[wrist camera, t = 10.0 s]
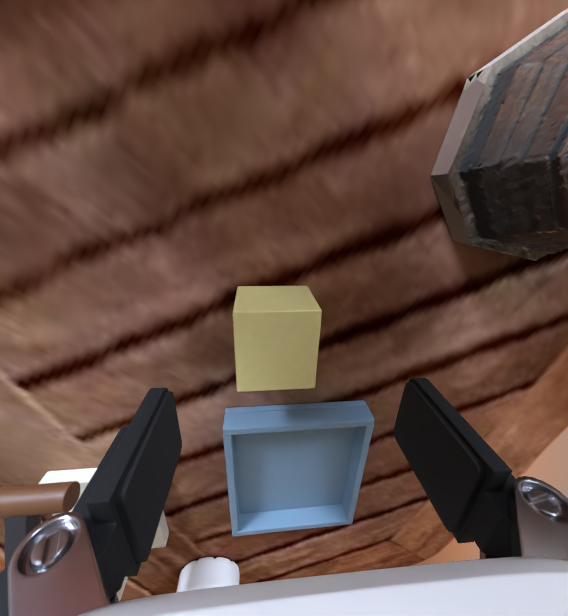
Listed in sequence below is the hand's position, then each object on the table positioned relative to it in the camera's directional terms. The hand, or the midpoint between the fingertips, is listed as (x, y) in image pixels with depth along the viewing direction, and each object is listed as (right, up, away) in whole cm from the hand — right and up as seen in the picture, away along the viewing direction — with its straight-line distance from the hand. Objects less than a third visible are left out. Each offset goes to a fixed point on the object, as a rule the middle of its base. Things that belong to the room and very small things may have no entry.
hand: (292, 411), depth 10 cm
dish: (+1, -10, +13) cm, 16 cm away
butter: (-1, +3, +7) cm, 8 cm away
